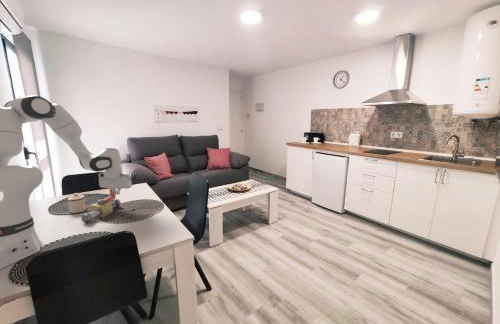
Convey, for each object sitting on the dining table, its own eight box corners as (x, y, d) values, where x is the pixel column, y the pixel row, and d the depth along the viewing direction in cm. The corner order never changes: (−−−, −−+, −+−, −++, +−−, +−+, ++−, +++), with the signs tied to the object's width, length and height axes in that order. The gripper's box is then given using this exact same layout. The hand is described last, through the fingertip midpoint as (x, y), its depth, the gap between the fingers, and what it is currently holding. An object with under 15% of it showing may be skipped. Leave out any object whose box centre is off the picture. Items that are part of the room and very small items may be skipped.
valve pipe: (92, 223, 122) (90, 211, 121) (81, 223, 123) (79, 210, 122) (122, 207, 146) (120, 196, 144) (112, 206, 147) (111, 195, 145)
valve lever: (101, 204, 131) (100, 194, 129) (95, 204, 131) (94, 194, 130) (116, 196, 143) (115, 188, 142) (111, 196, 143) (110, 187, 142)
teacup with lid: (90, 208, 143) (87, 192, 140) (75, 214, 134) (72, 196, 132) (78, 206, 147) (75, 189, 145) (63, 211, 139) (59, 194, 136)
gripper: (132, 172, 139) (135, 193, 141) (103, 171, 141) (106, 192, 144) (126, 175, 133) (128, 196, 135) (95, 174, 135) (98, 195, 138)
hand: (117, 194), depth 140 cm, fingers closed
